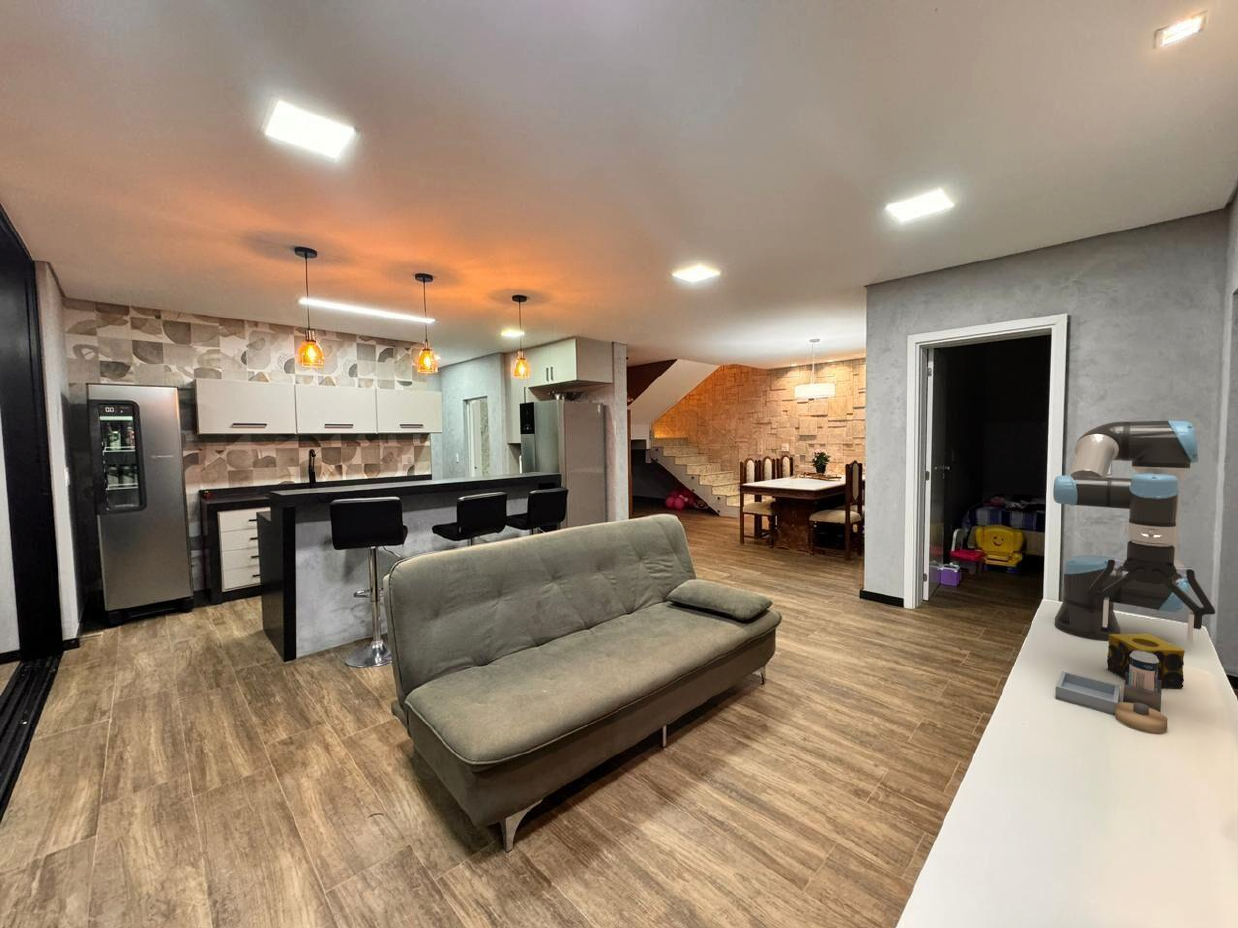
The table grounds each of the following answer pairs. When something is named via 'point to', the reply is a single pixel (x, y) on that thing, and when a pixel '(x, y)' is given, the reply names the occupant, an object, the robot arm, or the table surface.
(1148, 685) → the beer can
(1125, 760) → the table surface
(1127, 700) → the bracket
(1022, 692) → the table surface
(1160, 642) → the yellow holed block
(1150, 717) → the disc
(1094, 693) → the tray
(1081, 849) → the table surface
